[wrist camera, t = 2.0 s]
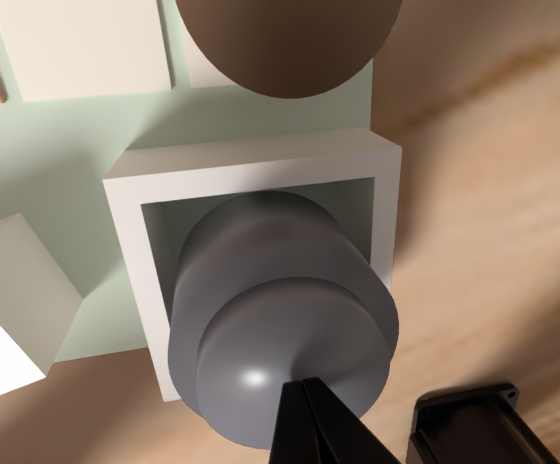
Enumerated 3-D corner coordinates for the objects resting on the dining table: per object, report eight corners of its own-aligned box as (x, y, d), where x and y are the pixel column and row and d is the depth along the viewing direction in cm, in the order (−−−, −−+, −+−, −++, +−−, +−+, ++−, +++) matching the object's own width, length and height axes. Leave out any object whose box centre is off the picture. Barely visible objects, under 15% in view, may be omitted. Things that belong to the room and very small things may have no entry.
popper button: (350, 180, 12) (431, 254, 8) (347, 325, 15) (406, 441, 11) (161, 202, 12) (135, 298, 7) (193, 351, 14) (188, 487, 10)
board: (371, -135, 11) (445, -216, 8) (356, 301, 19) (391, 362, 15) (-352, -131, 9) (-705, -243, 6) (-53, 367, 16) (-124, 457, 13)
